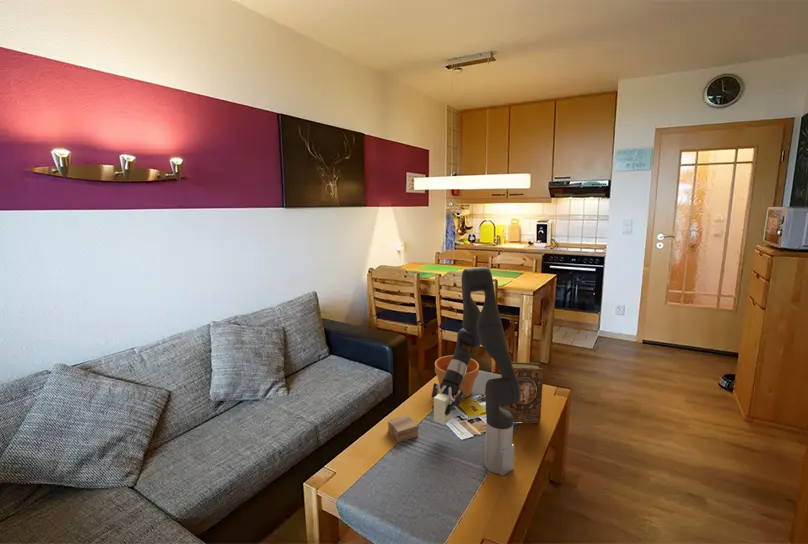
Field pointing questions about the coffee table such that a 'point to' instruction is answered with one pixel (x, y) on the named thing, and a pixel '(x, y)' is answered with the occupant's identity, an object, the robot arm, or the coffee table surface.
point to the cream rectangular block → (441, 408)
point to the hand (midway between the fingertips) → (440, 412)
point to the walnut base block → (403, 428)
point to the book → (527, 393)
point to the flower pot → (469, 376)
